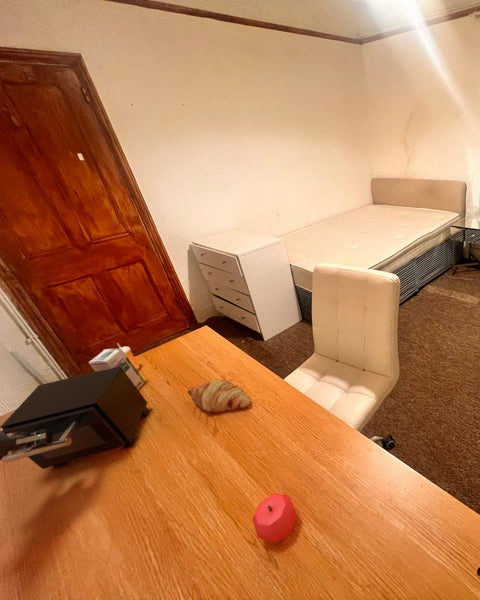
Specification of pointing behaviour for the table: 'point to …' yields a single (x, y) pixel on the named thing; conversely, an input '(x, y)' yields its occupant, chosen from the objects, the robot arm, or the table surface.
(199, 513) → the table surface
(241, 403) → the croissant
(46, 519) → the table surface
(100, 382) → the oven
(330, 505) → the table surface
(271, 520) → the apple
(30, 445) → the robot arm
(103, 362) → the syrup box
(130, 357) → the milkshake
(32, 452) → the oven door
